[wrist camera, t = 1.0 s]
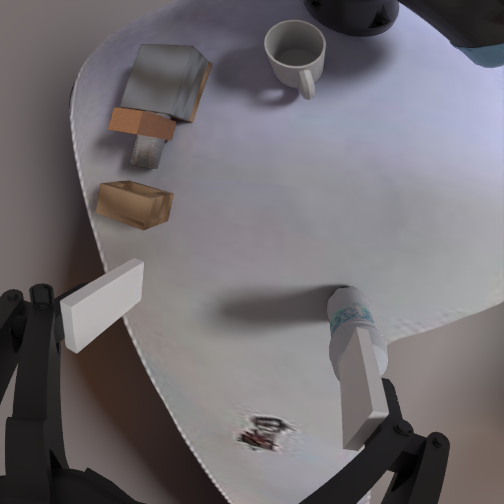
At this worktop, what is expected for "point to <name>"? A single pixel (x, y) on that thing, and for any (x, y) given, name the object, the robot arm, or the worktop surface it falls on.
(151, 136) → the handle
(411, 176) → the worktop surface
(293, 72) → the cup
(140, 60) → the sleeve and socket
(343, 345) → the bottle
